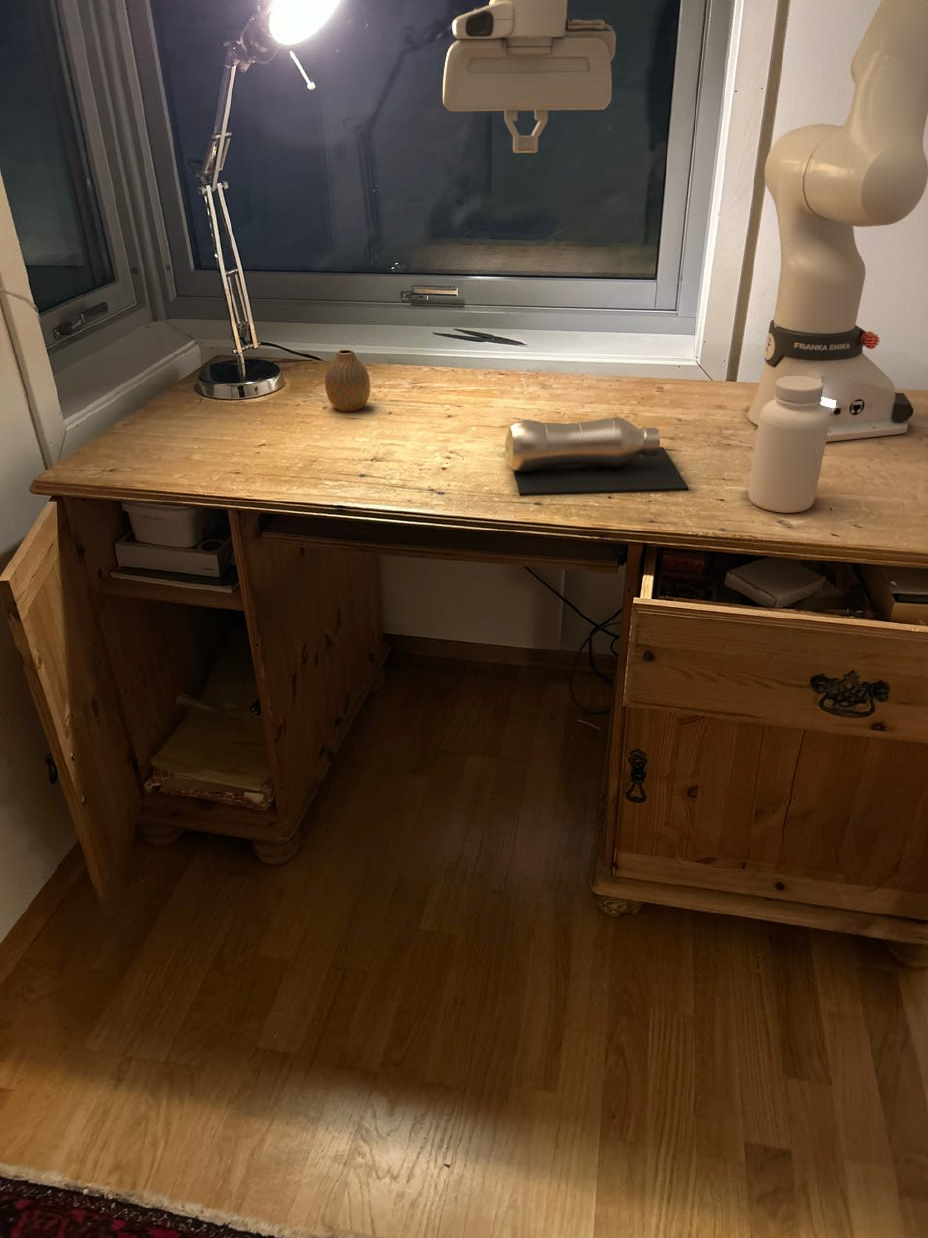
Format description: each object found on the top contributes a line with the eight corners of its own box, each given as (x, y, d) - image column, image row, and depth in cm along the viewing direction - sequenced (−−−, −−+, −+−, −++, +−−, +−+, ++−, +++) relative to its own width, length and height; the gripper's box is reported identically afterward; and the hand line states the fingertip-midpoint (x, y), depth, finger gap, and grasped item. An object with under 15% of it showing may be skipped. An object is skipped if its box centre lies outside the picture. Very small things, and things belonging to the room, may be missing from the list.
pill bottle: (734, 501, 118) (752, 382, 110) (768, 482, 123) (787, 367, 115) (792, 520, 114) (815, 397, 106) (825, 500, 118) (850, 381, 110)
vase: (320, 413, 147) (315, 356, 143) (336, 398, 153) (331, 343, 148) (363, 416, 146) (359, 359, 141) (377, 401, 151) (374, 346, 147)
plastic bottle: (509, 475, 122) (662, 470, 124) (508, 421, 120) (663, 416, 122) (502, 470, 128) (648, 465, 130) (502, 418, 127) (649, 414, 128)
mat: (662, 449, 133) (663, 446, 133) (688, 490, 121) (688, 487, 121) (509, 453, 132) (509, 451, 132) (519, 495, 120) (519, 492, 120)
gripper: (612, 19, 114) (604, 148, 121) (440, 20, 113) (442, 150, 120) (622, 18, 109) (613, 153, 116) (442, 20, 108) (444, 155, 115)
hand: (525, 152), depth 118 cm, fingers closed
